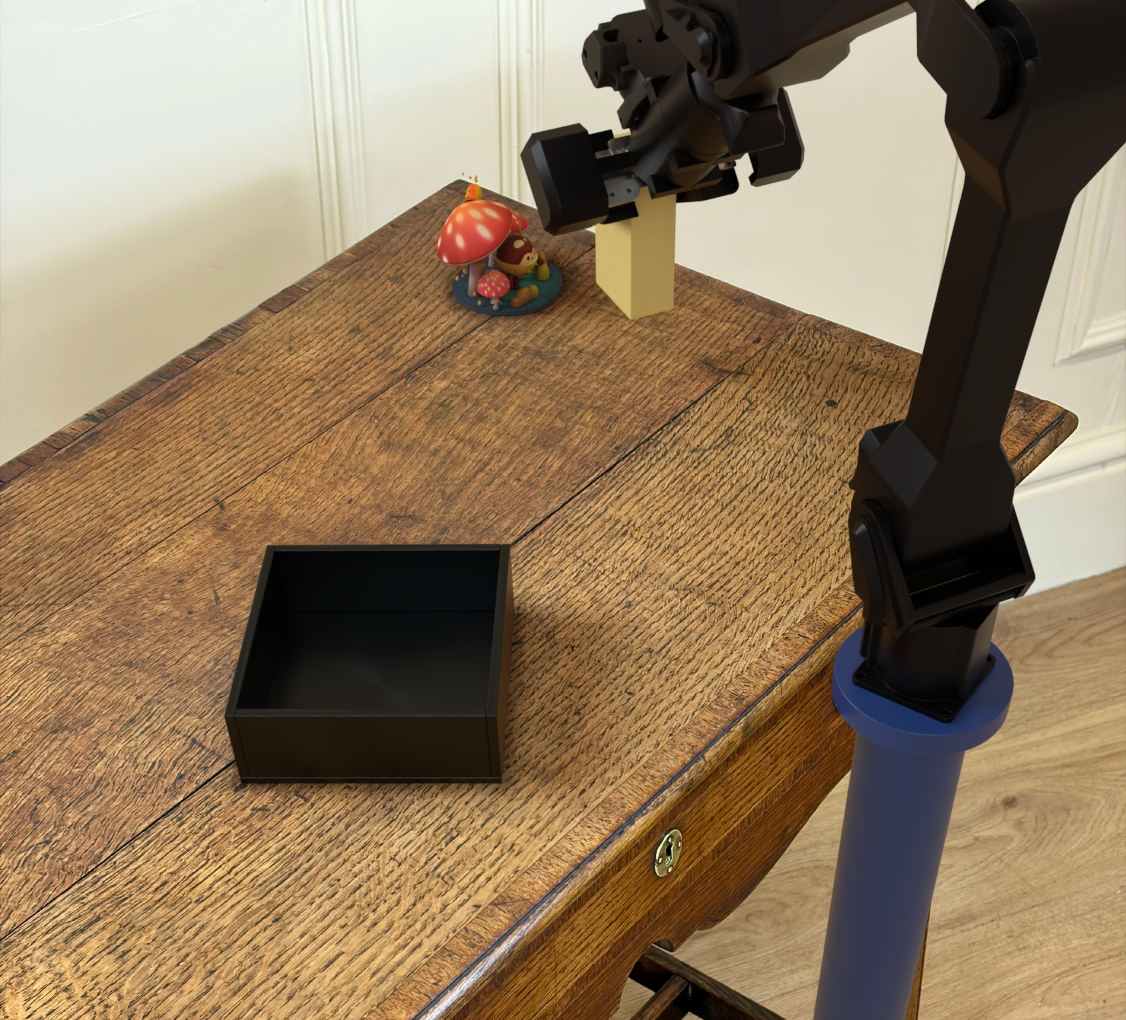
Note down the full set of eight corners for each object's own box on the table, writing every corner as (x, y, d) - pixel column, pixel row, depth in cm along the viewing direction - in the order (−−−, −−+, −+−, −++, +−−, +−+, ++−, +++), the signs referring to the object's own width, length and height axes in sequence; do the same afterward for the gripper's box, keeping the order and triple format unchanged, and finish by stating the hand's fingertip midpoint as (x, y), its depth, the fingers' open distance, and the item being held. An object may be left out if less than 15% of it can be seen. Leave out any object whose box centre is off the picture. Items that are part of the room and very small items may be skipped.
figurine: (542, 330, 125) (538, 230, 119) (430, 317, 127) (420, 218, 121) (578, 256, 133) (576, 159, 127) (472, 245, 135) (465, 149, 129)
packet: (637, 272, 118) (638, 128, 110) (673, 309, 114) (677, 163, 107) (595, 283, 117) (593, 139, 110) (630, 320, 114) (630, 174, 106)
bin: (514, 611, 101) (510, 543, 97) (502, 783, 91) (496, 715, 87) (280, 611, 102) (266, 544, 98) (240, 783, 91) (223, 716, 87)
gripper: (797, -45, 99) (708, 67, 114) (524, 9, 94) (469, 120, 109) (850, 127, 100) (755, 216, 115) (581, 190, 95) (519, 275, 110)
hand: (626, 203), depth 112 cm, fingers closed on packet, 3 cm apart
